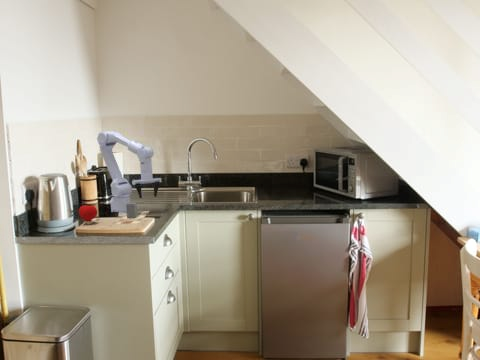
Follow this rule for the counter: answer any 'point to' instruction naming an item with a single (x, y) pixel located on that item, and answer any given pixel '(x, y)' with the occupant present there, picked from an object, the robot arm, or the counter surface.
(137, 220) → the socket board
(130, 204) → the plug
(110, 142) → the robot arm
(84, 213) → the red heart ornament
